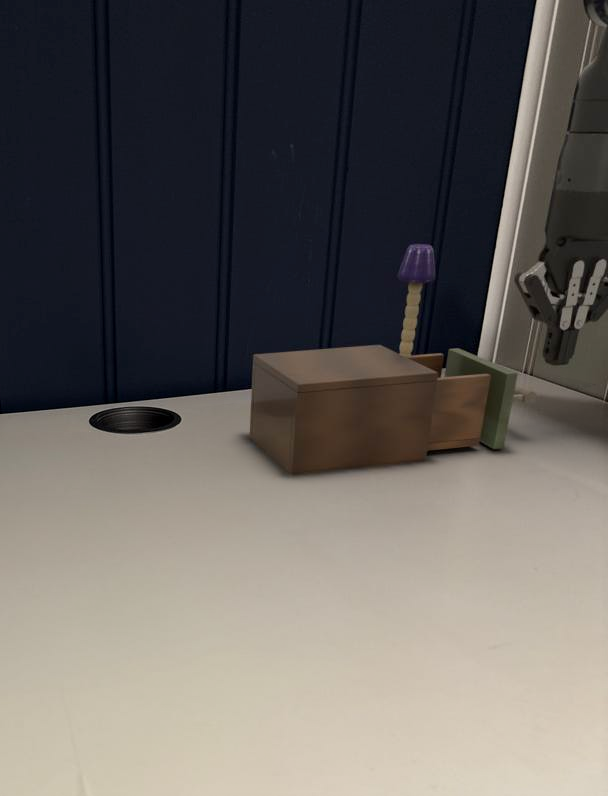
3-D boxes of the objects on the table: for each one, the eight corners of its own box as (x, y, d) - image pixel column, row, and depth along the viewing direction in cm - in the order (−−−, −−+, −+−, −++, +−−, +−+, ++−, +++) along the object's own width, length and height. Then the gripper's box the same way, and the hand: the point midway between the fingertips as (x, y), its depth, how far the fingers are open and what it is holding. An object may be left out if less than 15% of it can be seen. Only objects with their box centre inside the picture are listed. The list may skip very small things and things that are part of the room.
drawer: (481, 414, 107) (493, 345, 103) (540, 444, 98) (556, 369, 94) (338, 427, 104) (344, 357, 100) (384, 460, 94) (394, 383, 91)
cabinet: (370, 430, 106) (380, 344, 101) (425, 466, 95) (438, 372, 90) (248, 442, 103) (253, 354, 98) (291, 480, 93) (298, 384, 88)
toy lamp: (428, 379, 124) (447, 245, 116) (404, 385, 122) (422, 249, 113) (400, 372, 128) (417, 241, 119) (377, 378, 125) (392, 245, 117)
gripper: (559, 189, 87) (521, 376, 95) (680, 185, 89) (633, 367, 98) (512, 184, 93) (481, 359, 102) (627, 180, 95) (587, 352, 104)
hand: (556, 363), depth 100 cm, fingers closed
